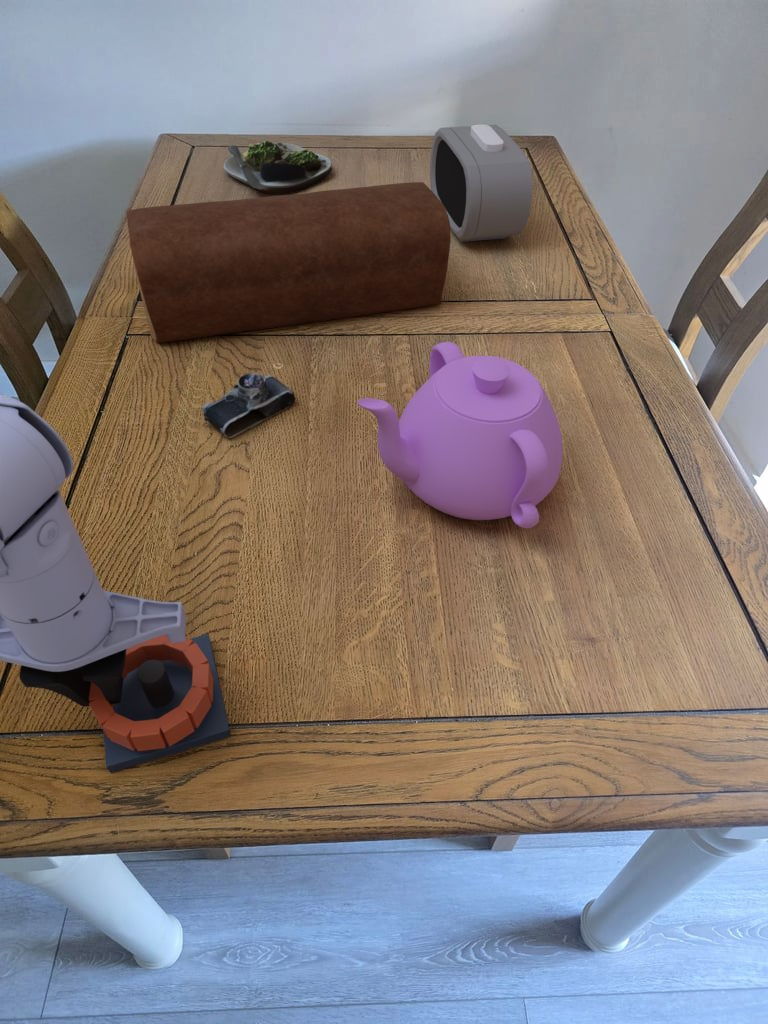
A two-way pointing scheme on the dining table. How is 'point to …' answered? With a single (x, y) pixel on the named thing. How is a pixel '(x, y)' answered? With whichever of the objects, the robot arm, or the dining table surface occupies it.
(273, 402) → the camera
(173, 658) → the segmented red ring
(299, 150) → the salad plate
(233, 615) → the dining table surface
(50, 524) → the robot arm
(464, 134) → the alarm clock
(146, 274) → the bread
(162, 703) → the ring stacking peg
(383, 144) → the dining table surface
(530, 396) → the teapot
